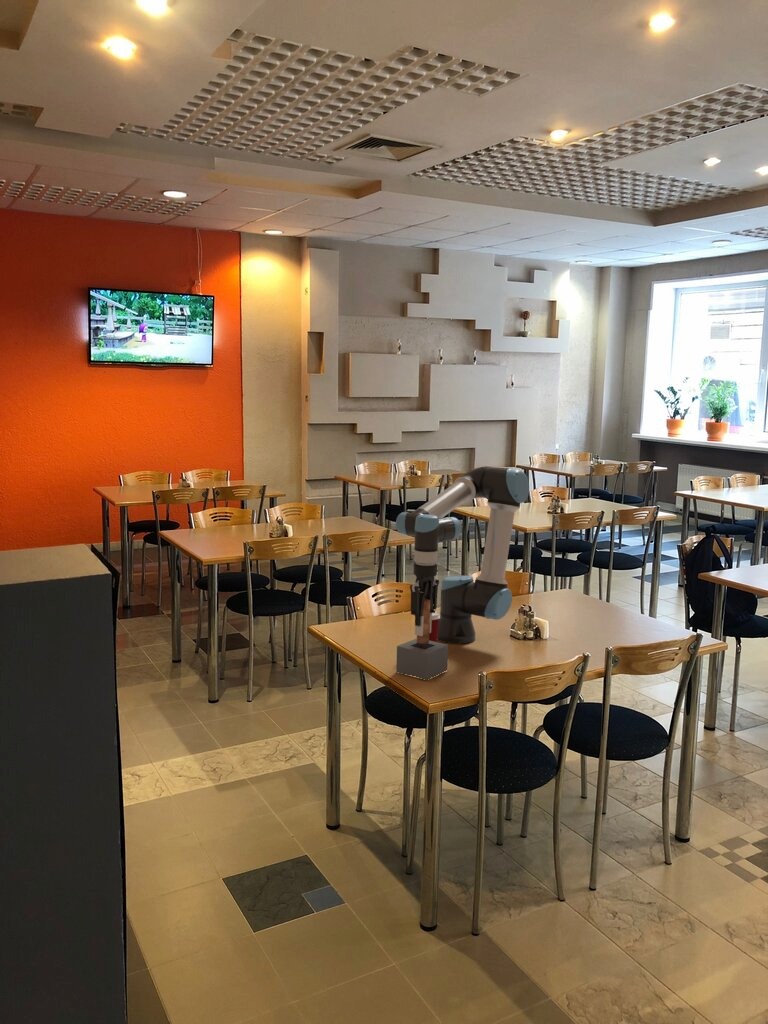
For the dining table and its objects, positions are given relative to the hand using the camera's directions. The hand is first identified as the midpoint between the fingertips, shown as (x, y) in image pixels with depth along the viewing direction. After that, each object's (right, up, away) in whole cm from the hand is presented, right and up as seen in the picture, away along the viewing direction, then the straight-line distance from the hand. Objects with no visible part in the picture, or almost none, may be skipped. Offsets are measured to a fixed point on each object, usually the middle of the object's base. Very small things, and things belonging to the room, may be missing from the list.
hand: (422, 633), depth 278 cm
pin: (0, -3, 0) cm, 3 cm away
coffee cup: (+2, -10, +20) cm, 23 cm away
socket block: (0, -13, +2) cm, 13 cm away
